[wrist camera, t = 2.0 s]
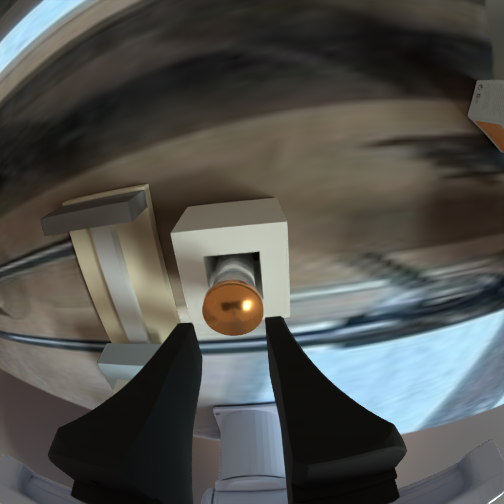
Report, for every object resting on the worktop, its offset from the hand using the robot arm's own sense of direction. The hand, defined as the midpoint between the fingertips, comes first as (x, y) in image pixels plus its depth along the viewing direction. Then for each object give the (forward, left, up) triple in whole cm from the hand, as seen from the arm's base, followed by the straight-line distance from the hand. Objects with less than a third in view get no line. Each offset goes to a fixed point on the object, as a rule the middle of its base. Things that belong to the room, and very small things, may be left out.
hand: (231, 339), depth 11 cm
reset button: (0, 0, -7) cm, 7 cm away
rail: (-5, +9, -10) cm, 14 cm away
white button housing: (0, 0, -10) cm, 10 cm away
